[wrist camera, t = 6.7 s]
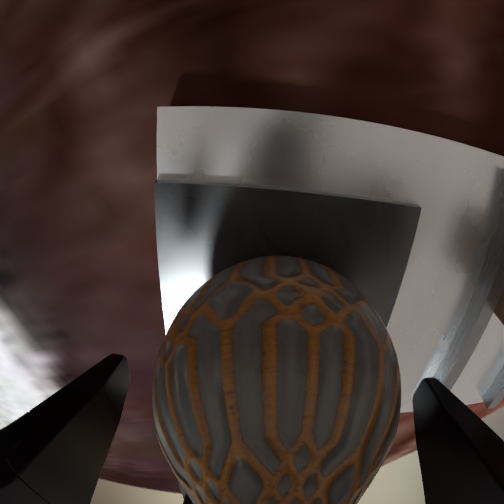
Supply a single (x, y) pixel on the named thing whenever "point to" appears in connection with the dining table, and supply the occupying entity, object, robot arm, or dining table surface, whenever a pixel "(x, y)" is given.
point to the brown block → (500, 308)
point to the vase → (276, 387)
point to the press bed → (345, 225)
